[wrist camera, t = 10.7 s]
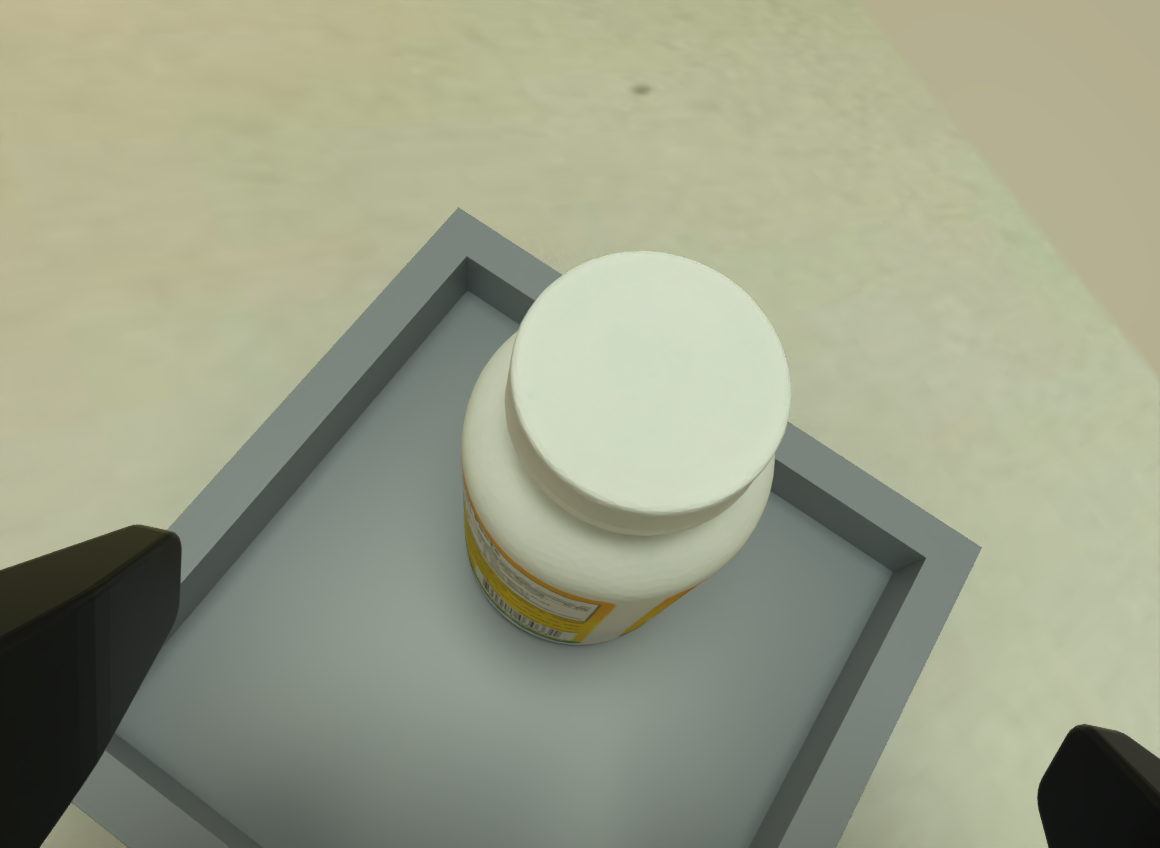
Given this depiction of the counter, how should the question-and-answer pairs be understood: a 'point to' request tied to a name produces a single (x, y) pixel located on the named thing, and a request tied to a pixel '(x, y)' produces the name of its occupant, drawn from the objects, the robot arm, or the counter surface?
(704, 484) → the supplement bottle
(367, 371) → the tray
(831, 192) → the counter surface
